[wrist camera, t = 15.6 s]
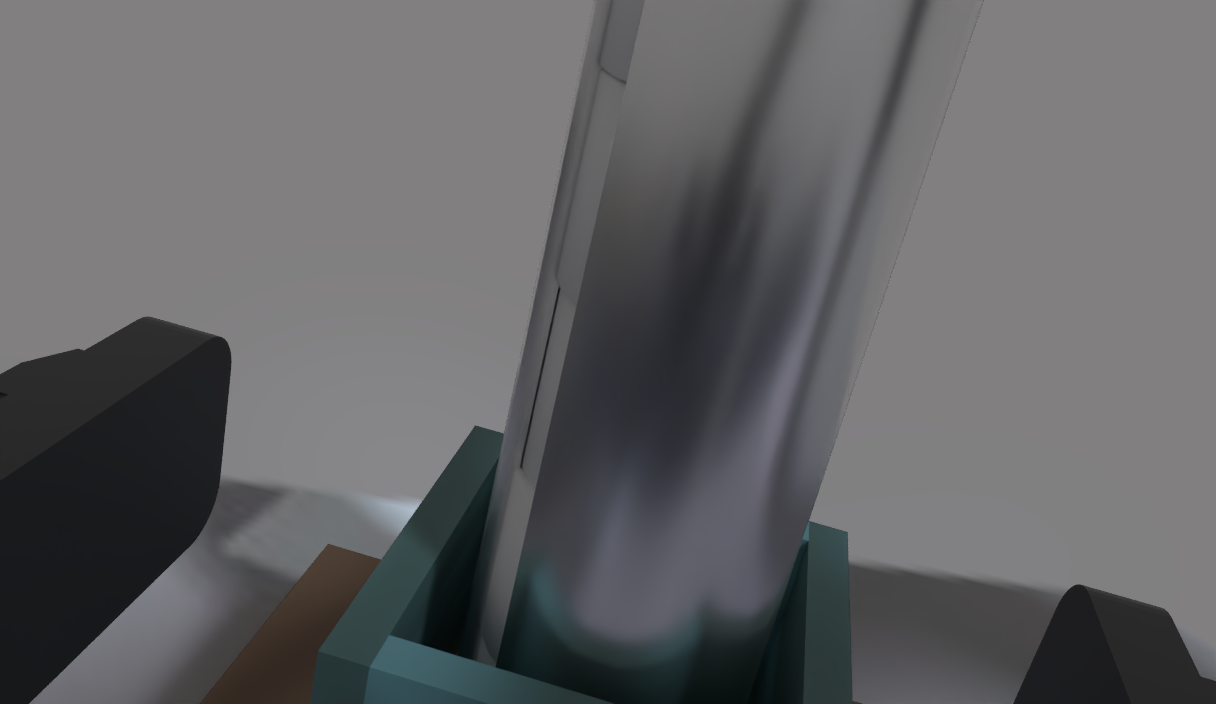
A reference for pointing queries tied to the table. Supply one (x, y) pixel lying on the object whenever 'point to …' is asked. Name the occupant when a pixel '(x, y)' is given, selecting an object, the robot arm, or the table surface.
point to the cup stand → (437, 606)
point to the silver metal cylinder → (700, 330)
